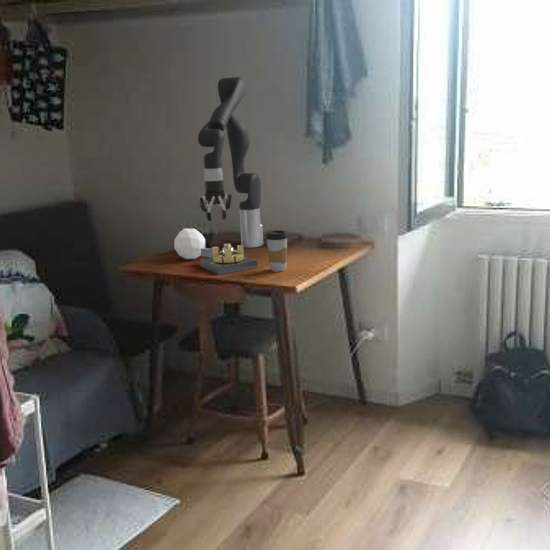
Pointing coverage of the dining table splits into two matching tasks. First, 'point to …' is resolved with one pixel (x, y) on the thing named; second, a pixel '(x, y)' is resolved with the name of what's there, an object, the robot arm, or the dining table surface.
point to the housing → (228, 264)
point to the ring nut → (228, 257)
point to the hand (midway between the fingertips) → (216, 220)
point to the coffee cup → (277, 250)
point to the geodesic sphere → (189, 243)
